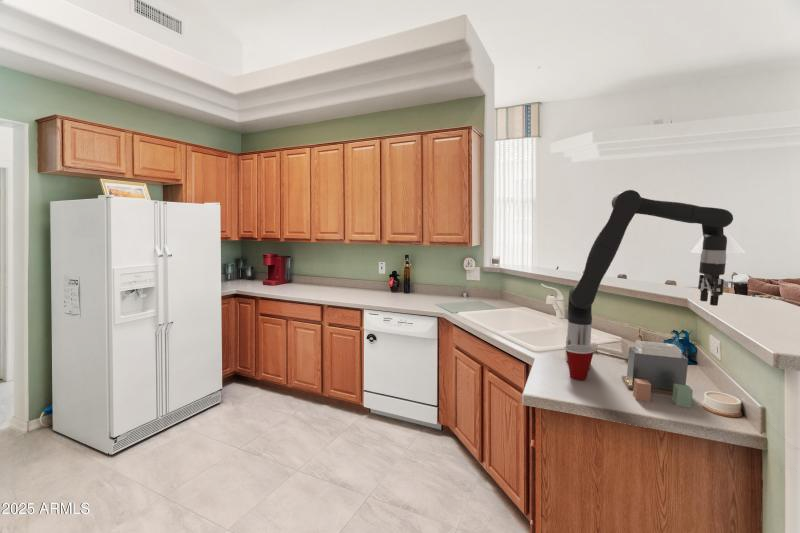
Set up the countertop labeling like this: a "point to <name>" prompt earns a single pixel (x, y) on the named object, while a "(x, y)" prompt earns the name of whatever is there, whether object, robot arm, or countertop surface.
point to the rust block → (642, 390)
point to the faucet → (613, 351)
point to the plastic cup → (579, 360)
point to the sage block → (682, 395)
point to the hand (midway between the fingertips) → (708, 303)
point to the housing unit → (656, 366)
